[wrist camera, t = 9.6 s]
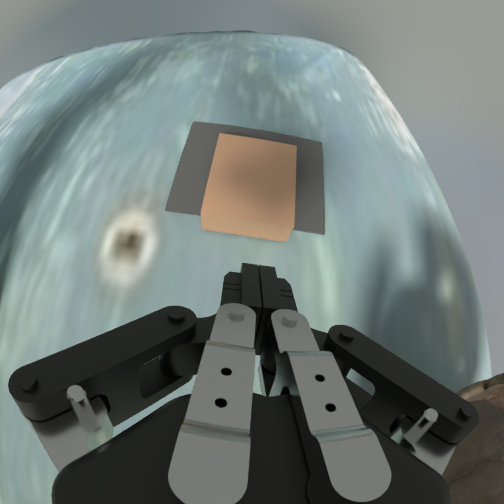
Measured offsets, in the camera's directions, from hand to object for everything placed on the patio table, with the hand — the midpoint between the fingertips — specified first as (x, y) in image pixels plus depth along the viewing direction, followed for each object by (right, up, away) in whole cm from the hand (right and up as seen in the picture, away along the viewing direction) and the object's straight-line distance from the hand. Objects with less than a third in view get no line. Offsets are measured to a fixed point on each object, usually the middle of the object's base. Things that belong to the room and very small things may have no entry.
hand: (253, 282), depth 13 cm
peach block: (-1, +4, +19) cm, 19 cm away
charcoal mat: (0, +12, +25) cm, 28 cm away
